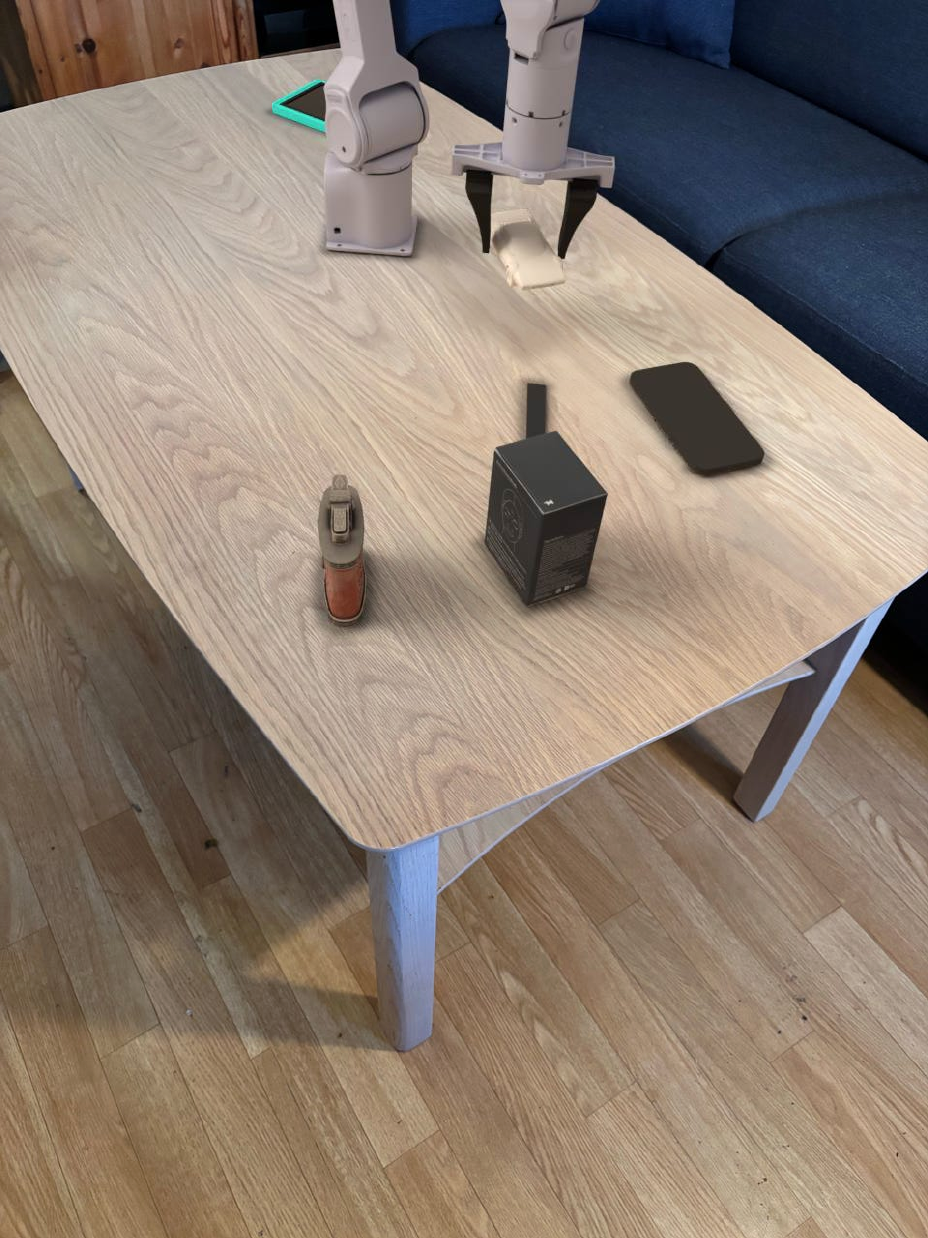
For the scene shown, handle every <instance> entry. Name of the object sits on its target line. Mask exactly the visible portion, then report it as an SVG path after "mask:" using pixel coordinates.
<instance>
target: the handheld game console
mask: <svg viewBox="0 0 928 1238" xmlns="http://www.w3.org/2000/svg"><path fill="white" fill-rule="evenodd" d="M326 82H327V80H323V79H319V78H317V79H315V80H313V81H310V82H309V83H307V84H305V85H303V86H301V87H299V88H298V89H297V88H296V90H293V91H292V92H289V93H287V94H286V95H284V96H282V97H280V98H278V99H276V100H275V101H273V102H272V103H271V108H272V109H271V111H272V113H273V114H275V115H278V116H280V117H283V118H285V119H288V120H290V121H294V122H296V123H299V124H301V125H304V126H307V127H310V128H312V129H314V130H317V131H320V132H323V133H325V134H326V132H325V115H326V100H325V94H324V85H325V84H326Z"/></svg>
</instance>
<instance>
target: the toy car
mask: <svg viewBox="0 0 928 1238" xmlns="http://www.w3.org/2000/svg"><path fill="white" fill-rule="evenodd" d="M491 249H493V250H494V251H495V253H496V255H497V256H498V259H499V260H500V262H501V263H502V265H503V266H504V268H505V270H506V272H505V278H506V282H507V285H508V286H509V287H510V288H514V287H517V286H518V287H519V288H520V290H521V291H529V290H537V289H543V288H549V287H554V286H560V285H563V284H565V283H566V282H567V279H566V275H565V272H564V263H563V259H561V258H560V257H559V256H558V254H556V253H555V252H554V250H553V248H552V247H551V245H550V243H549V242H548V240H547V238H546V236H545V234H544V233H543V231H542V230H541V226H540V224H539V222H538V221H537V220H536V218H535V217H533V215H532V214H531V212H530V211H529V209H528V208H518V209H517V208H516V209H509V210H502V211H496V212H491V240H490V250H491Z"/></svg>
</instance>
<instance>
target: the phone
mask: <svg viewBox="0 0 928 1238" xmlns="http://www.w3.org/2000/svg"><path fill="white" fill-rule="evenodd" d="M629 383H630V385H631V387H632V388H633V390H634V391H635V392H636V394H637V395H638V396H639V398H640V400H641V401H642V402H643V404H644V405H645V406H646V408H647V409H648V411H649V412H650V414H651V415H652V416H653V419H655V421H656V423H658V425H659V427H661V429H662V431H663V432H664V433H665V435H666V436H667V438H668V439H669V440H670V442H671V443H672V445H673V446H674V447H675V449H676V450H677V451H678V453H679V455H681V457H682V458H683V461H685V463H686V464H687V466H688V467H689V468H690V469H691V470H692V471H693V472H694V473H696V474H697V475H701V476H709V475H710V476H711V475H716V474H719V473H724V472H728V471H734V470H738V469H742V468H747V467H752V466H756V465H757V466H758V465H759V464H761V463H762V462H763V460H764V457H765V455H766V454H765V450H764V449H763V447H762V445H761V444H760V443H759V442H758V441H757V440H756V438H755V437H754V435H753V434H752V433H751V432H750V431H749V429H748V428H747V427H746V426H745V424H744V423H743V422H742V420H741V419H740V418H739V417H738V415H737V414H736V413H735V411H734V410H733V409H732V408H731V406H730V405H729V404H728V403H727V401H726V400H725V399H724V398H723V397H722V394H720V393H719V391H718V390H717V388H716V387H715V386H714V385H713V384H712V382H711V381H710V380H709V379H708V377H707V376H706V375H705V373H703V371H702V370H701V369H700V367H699V366H697V365H696V364H695V363H693V362H690V361H680V362H675V363H669V364H668V363H667V364H663V365H658V366H652V367H646V368H641V369H636V370H633V371H632V372H631V374H630V378H629Z"/></svg>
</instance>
